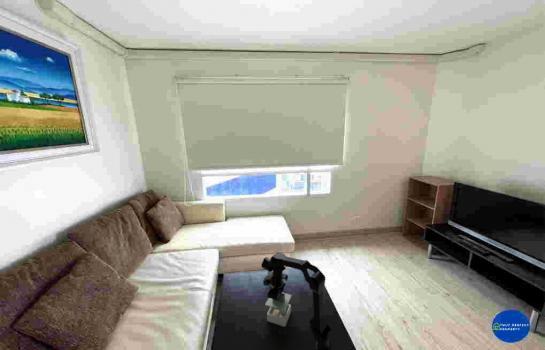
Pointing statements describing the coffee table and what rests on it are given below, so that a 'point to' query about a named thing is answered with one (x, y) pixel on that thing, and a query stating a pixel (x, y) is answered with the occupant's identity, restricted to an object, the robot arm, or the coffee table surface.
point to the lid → (279, 302)
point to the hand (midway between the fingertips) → (278, 298)
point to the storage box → (279, 316)
